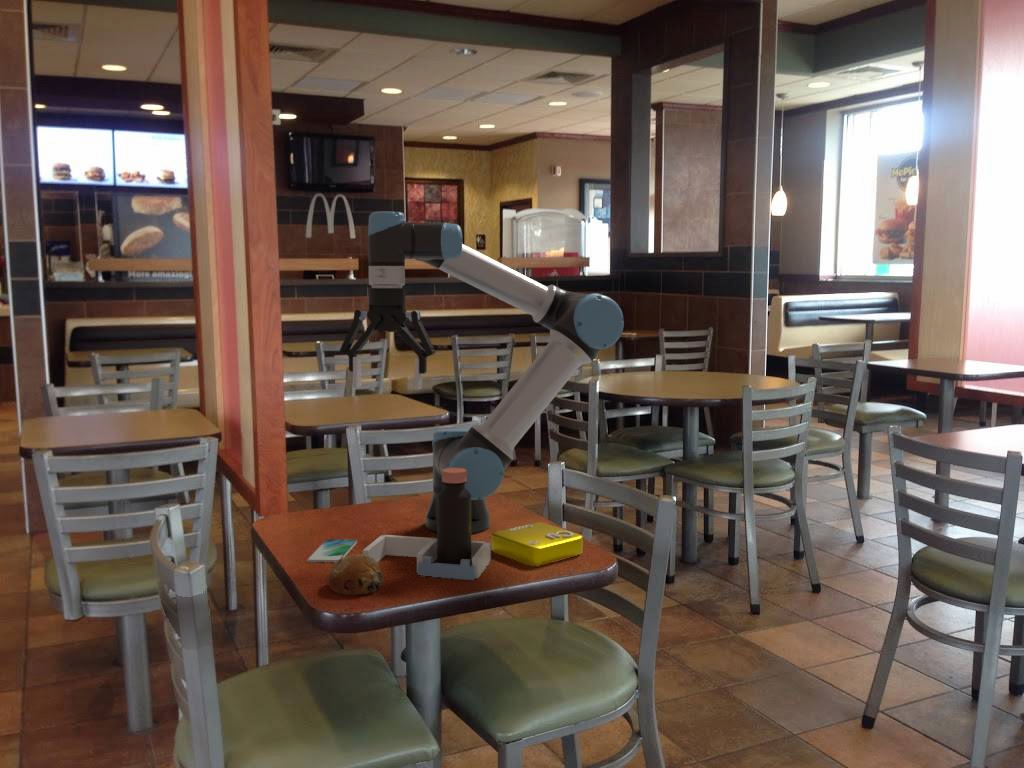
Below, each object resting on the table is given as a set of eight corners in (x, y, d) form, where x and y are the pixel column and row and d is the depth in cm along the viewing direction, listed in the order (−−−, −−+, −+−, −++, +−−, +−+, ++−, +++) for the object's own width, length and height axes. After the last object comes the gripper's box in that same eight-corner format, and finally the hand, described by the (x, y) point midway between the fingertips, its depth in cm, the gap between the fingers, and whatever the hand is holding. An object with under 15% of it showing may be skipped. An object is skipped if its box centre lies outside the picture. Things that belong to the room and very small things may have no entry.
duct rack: (382, 552, 189) (382, 534, 189) (490, 560, 184) (490, 541, 184) (360, 571, 177) (360, 551, 176) (476, 580, 172) (476, 560, 172)
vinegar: (444, 560, 184) (444, 465, 182) (475, 564, 182) (475, 467, 180) (432, 571, 178) (432, 472, 175) (464, 574, 176) (464, 474, 173)
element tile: (539, 539, 201) (540, 518, 201) (586, 555, 190) (587, 533, 189) (487, 552, 192) (487, 530, 191) (533, 570, 180) (534, 546, 180)
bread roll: (376, 596, 174) (370, 555, 176) (393, 589, 165) (386, 546, 167) (326, 604, 169) (320, 562, 171) (341, 597, 161) (335, 553, 163)
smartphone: (305, 560, 183) (325, 539, 197) (305, 564, 183) (325, 542, 198) (340, 560, 182) (357, 539, 197) (340, 564, 182) (358, 543, 197)
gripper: (323, 286, 185) (325, 388, 187) (439, 287, 180) (439, 392, 182) (337, 286, 192) (339, 384, 195) (449, 287, 187) (449, 387, 190)
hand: (387, 388), depth 189 cm, fingers open, 13 cm apart
